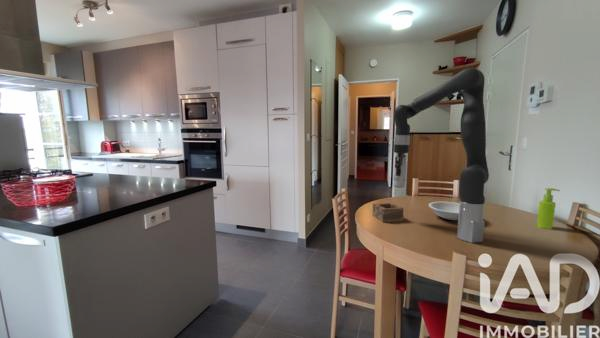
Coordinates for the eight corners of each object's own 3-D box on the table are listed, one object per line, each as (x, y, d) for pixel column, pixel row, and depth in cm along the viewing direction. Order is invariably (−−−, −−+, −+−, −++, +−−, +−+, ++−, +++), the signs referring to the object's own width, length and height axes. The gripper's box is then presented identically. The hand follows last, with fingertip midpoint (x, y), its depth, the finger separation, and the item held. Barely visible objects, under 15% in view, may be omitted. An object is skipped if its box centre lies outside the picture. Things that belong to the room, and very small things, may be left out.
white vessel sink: (463, 212, 159) (464, 201, 158) (487, 226, 136) (488, 214, 135) (421, 211, 162) (422, 200, 161) (438, 225, 138) (438, 212, 137)
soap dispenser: (557, 229, 131) (563, 190, 128) (541, 228, 132) (546, 189, 130) (549, 225, 137) (554, 187, 134) (533, 224, 138) (538, 187, 135)
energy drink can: (406, 188, 140) (408, 160, 138) (395, 188, 141) (396, 160, 138) (402, 185, 146) (404, 158, 144) (391, 185, 147) (393, 158, 144)
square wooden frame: (403, 220, 145) (403, 208, 144) (382, 222, 142) (383, 209, 141) (391, 214, 156) (391, 202, 155) (372, 215, 154) (372, 203, 153)
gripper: (406, 144, 132) (404, 177, 135) (412, 143, 144) (409, 173, 146) (390, 144, 136) (388, 176, 139) (397, 142, 148) (395, 172, 150)
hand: (399, 174), depth 142 cm, fingers closed on energy drink can, 6 cm apart
